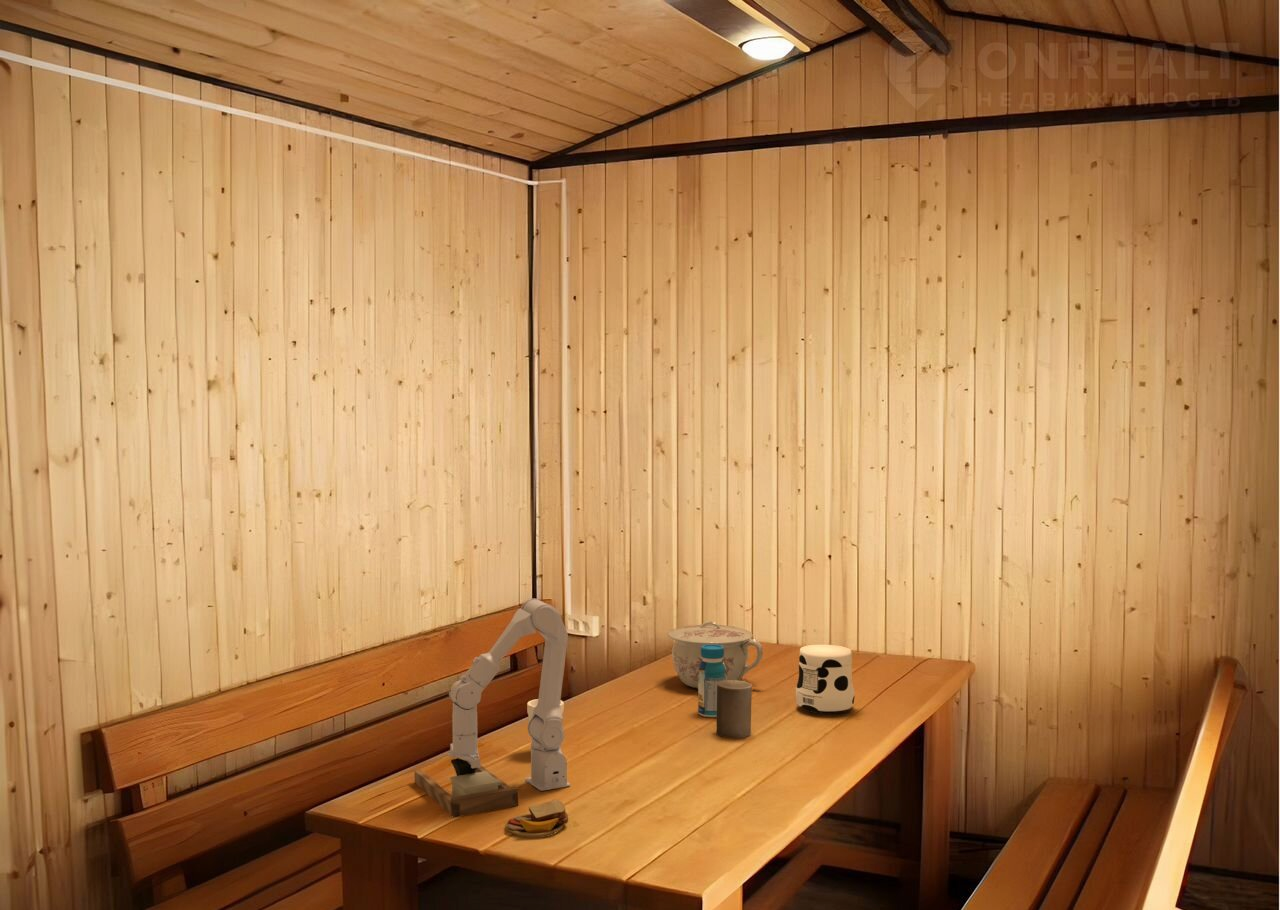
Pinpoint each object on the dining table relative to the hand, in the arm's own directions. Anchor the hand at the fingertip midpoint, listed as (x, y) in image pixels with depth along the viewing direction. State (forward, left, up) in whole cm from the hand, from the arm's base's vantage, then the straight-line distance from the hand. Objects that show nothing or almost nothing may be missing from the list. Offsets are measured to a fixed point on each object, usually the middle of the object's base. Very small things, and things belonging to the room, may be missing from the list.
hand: (465, 789), depth 277 cm
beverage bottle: (+30, -88, -1) cm, 93 cm away
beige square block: (-6, 0, -1) cm, 6 cm away
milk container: (+18, -120, -1) cm, 121 cm away
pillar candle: (+11, -83, -1) cm, 84 cm away
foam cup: (+20, -30, -1) cm, 36 cm away
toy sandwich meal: (-27, -6, -2) cm, 28 cm away
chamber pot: (+59, -106, -1) cm, 122 cm away
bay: (0, 0, -1) cm, 1 cm away
